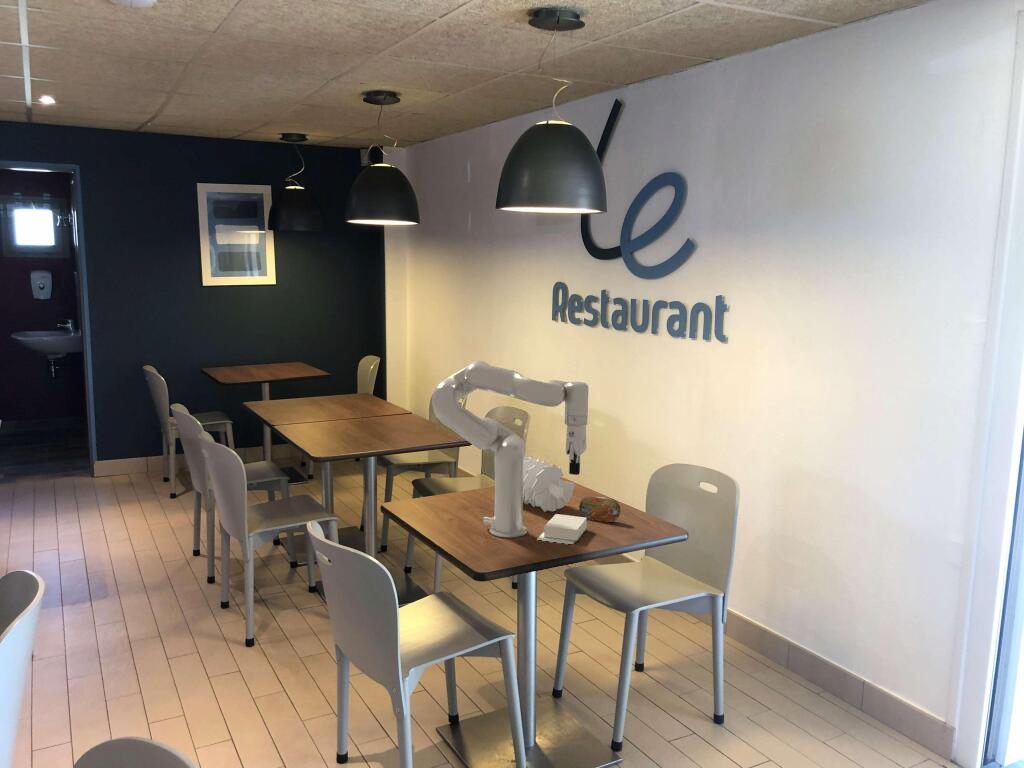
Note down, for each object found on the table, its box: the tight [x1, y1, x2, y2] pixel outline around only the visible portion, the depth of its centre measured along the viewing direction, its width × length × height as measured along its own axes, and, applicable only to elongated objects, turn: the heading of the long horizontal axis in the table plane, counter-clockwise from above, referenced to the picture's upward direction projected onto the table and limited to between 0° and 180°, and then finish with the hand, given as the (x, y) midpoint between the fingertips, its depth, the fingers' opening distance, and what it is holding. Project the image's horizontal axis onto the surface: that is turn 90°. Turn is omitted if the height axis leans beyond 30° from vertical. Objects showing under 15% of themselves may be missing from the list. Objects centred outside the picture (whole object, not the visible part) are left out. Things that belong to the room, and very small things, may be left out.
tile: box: [543, 513, 588, 543], centre depth 272 cm, size 4×14×11 cm
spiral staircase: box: [523, 455, 576, 513], centre depth 303 cm, size 18×18×25 cm
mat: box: [536, 531, 576, 545], centre depth 273 cm, size 12×19×1 cm, turn 161°
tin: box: [578, 495, 621, 523], centre depth 288 cm, size 15×3×8 cm, turn 62°
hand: (574, 473), depth 268 cm, fingers closed
